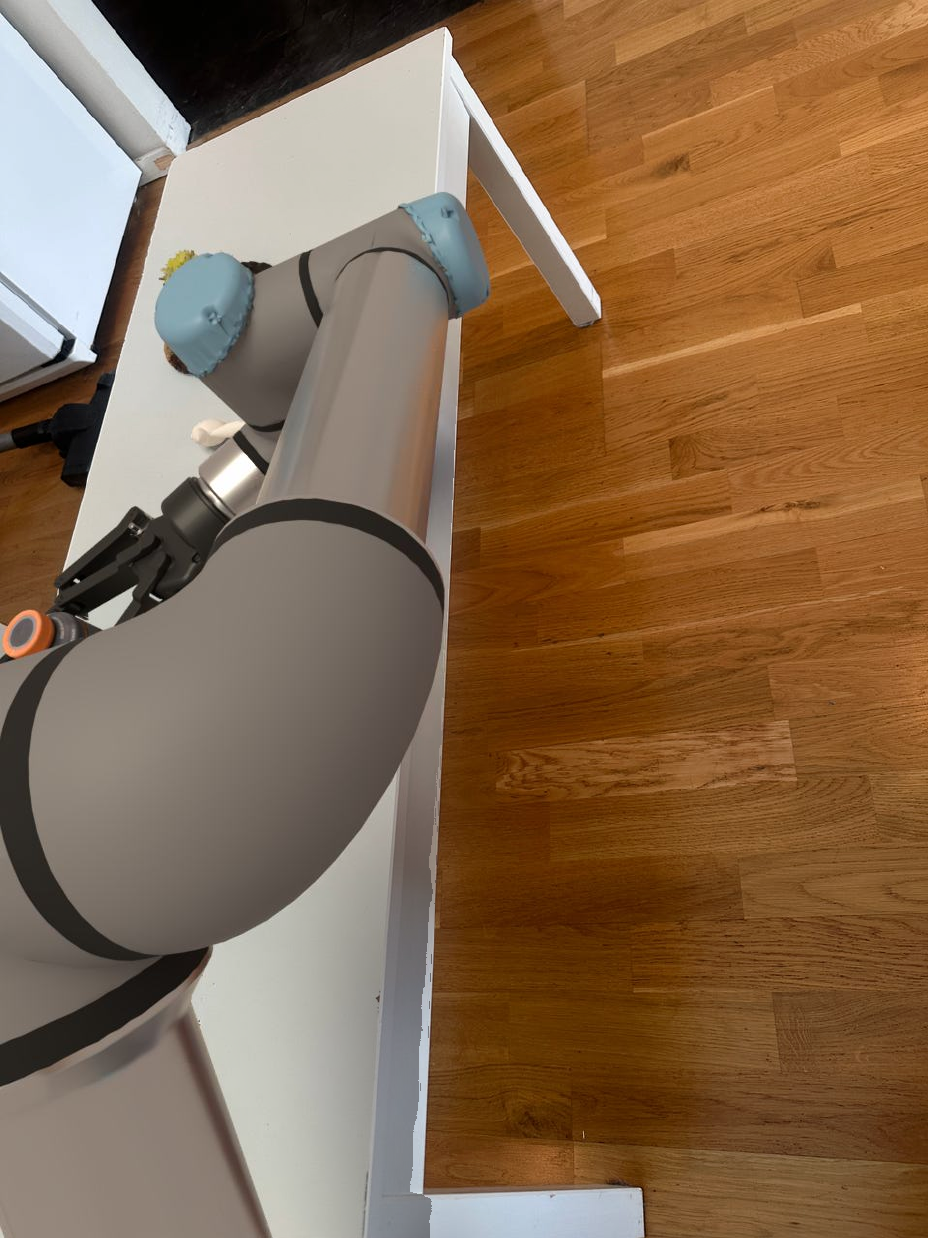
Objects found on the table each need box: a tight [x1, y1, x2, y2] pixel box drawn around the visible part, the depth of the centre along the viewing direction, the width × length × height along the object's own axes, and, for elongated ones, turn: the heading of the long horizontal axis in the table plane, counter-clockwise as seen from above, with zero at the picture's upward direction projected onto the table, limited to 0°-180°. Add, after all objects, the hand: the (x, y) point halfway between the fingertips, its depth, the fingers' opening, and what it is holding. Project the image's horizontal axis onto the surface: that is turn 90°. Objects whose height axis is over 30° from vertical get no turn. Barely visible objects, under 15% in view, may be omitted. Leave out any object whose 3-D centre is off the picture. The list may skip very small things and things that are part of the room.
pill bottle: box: [2, 609, 103, 659], centre depth 71 cm, size 6×6×11 cm
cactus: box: [158, 248, 274, 373], centre depth 98 cm, size 17×16×10 cm
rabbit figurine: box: [189, 418, 245, 447], centre depth 91 cm, size 6×4×8 cm
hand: (23, 695), depth 70 cm, fingers closed on pill bottle, 6 cm apart
